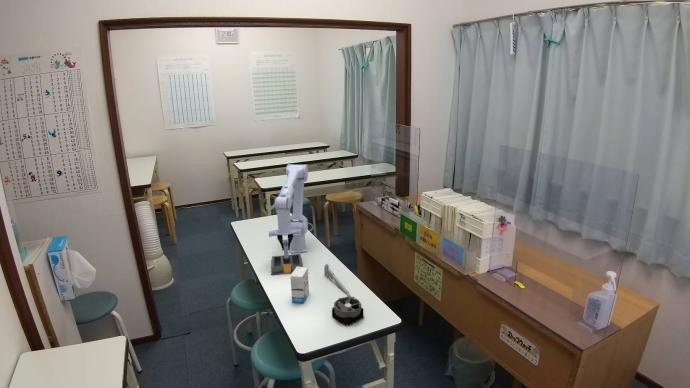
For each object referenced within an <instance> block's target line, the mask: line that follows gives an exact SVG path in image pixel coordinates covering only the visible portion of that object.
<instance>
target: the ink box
mask: <svg viewBox="0 0 690 388" xmlns="http://www.w3.org/2000/svg"><path fill="white" fill-rule="evenodd" d="M308 268H309V267H304V266H303V267H296V269H295V270H294V271H293V273H291V274H290V275H289V276H290V287H291V288H290V291H291V303H294V304H295V303H296V304H304V303H305V301H306V299H307V297H308V295H309V293H310V288H309V286H310V285H309V284H310V283H309V269H308Z"/></svg>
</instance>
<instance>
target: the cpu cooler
mask: <svg viewBox="0 0 690 388" xmlns="http://www.w3.org/2000/svg"><path fill="white" fill-rule="evenodd" d="M333 304H334V305H333V306H332V308H331V316H332V318H333V319H335V320H336V321H338V322H339V323H340V324H342V325H344V326H347V327H350V326H351V325H353V324H354V323H356V322H359V321H360V320H361V319H364V308H363V307H362V303H361V301H360V300H359V299H357V298H356V297H355V296H351V295H350V296H348V295H346V296H344V297H339V298H338V299H336V300H335V301H334V302H333Z"/></svg>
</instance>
